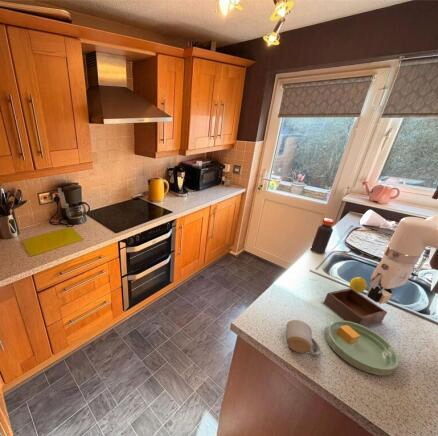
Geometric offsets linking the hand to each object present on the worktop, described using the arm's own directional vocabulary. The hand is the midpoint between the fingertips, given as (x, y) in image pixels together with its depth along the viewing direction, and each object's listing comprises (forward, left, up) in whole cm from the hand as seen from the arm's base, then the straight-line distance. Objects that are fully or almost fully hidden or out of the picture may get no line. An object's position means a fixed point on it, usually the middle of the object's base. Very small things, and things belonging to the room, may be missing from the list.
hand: (377, 297), depth 81 cm
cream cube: (0, 0, 0) cm, 0 cm away
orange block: (+10, +2, -15) cm, 18 cm away
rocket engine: (-100, -62, -15) cm, 119 cm away
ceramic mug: (+28, 0, -15) cm, 32 cm away
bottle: (-32, -48, -15) cm, 59 cm away
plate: (+10, +6, -15) cm, 19 cm away
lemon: (-18, -16, -15) cm, 28 cm away
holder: (-4, -7, -15) cm, 17 cm away
